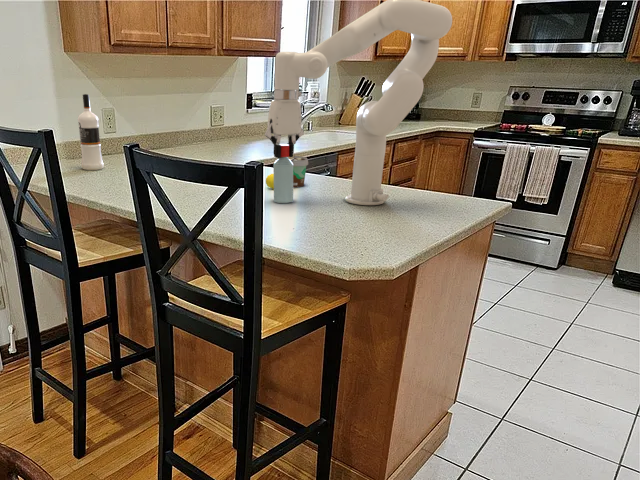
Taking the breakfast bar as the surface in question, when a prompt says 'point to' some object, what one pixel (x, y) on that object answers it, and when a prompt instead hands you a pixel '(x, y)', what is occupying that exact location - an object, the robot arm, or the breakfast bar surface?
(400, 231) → the breakfast bar surface
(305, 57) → the robot arm
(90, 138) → the vodka
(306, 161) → the food container
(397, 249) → the breakfast bar surface
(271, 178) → the lemon
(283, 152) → the cap
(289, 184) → the bottle
